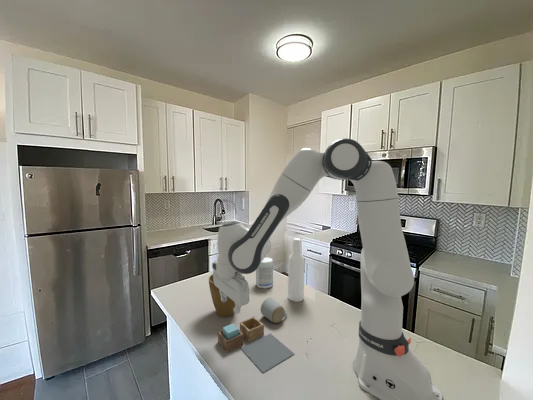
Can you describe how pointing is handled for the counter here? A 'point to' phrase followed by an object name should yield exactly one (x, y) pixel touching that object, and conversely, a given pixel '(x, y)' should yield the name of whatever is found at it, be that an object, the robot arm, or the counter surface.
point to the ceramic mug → (273, 310)
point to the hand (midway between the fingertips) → (230, 306)
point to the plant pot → (221, 307)
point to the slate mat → (267, 352)
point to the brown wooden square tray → (230, 341)
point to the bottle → (296, 273)
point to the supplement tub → (265, 273)
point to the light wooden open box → (252, 328)
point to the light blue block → (230, 331)
